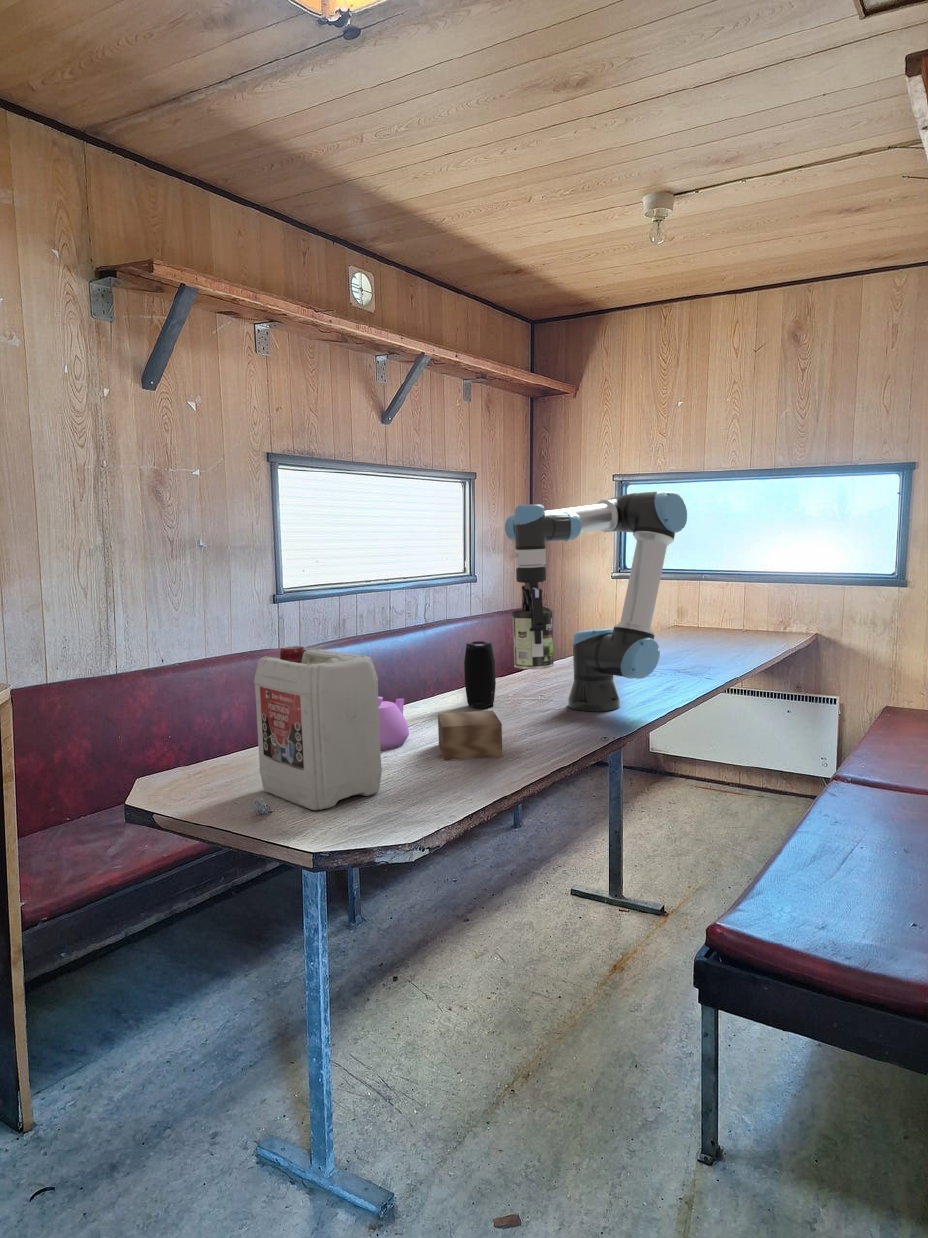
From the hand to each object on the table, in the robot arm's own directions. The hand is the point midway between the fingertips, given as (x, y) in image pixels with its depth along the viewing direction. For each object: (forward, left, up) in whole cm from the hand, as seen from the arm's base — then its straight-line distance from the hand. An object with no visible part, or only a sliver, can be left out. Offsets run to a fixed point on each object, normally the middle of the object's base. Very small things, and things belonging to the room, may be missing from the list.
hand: (533, 653), depth 205 cm
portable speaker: (+9, -38, -22) cm, 45 cm away
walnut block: (+18, +10, -22) cm, 30 cm away
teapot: (+40, -2, -22) cm, 46 cm away
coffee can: (0, 0, -4) cm, 4 cm away
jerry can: (+52, +35, -22) cm, 67 cm away
